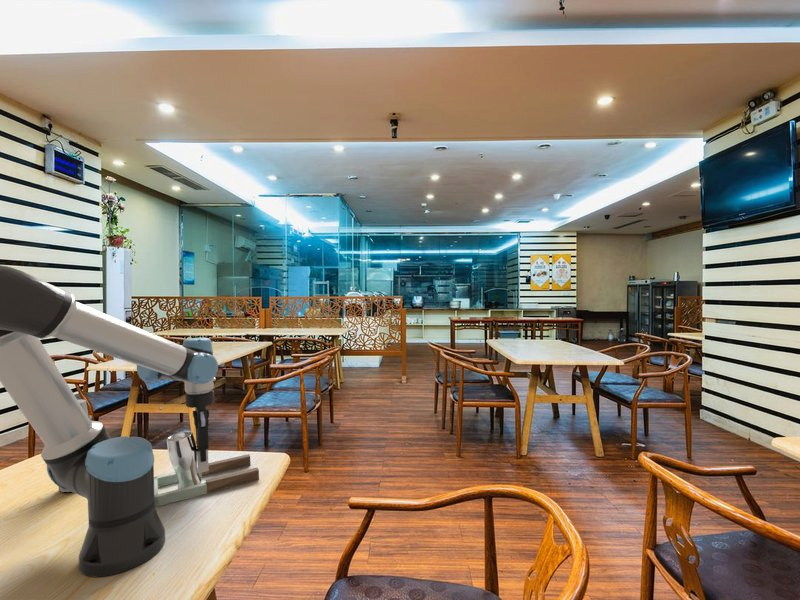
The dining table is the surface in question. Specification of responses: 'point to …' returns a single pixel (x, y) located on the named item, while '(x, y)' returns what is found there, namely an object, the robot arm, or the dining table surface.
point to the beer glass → (184, 458)
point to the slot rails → (232, 478)
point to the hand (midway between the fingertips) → (203, 471)
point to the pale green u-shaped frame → (175, 494)
